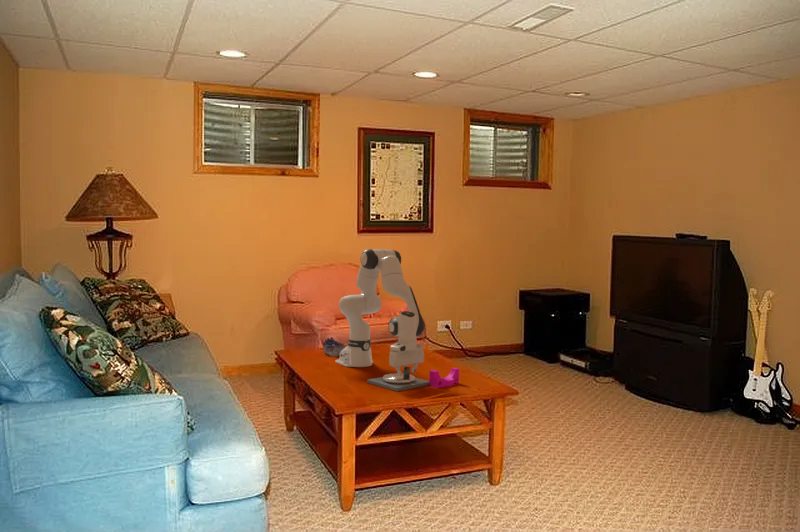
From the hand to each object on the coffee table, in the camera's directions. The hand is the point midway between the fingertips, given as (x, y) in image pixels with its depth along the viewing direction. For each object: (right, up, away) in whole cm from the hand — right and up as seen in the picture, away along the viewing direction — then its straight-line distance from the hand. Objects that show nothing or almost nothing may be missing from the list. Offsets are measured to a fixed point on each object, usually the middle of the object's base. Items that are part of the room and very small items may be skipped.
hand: (406, 373), depth 318 cm
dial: (-4, -4, +4) cm, 7 cm away
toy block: (+19, -7, +4) cm, 21 cm away
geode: (-44, -1, +73) cm, 85 cm away
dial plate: (-4, -6, +4) cm, 8 cm away
